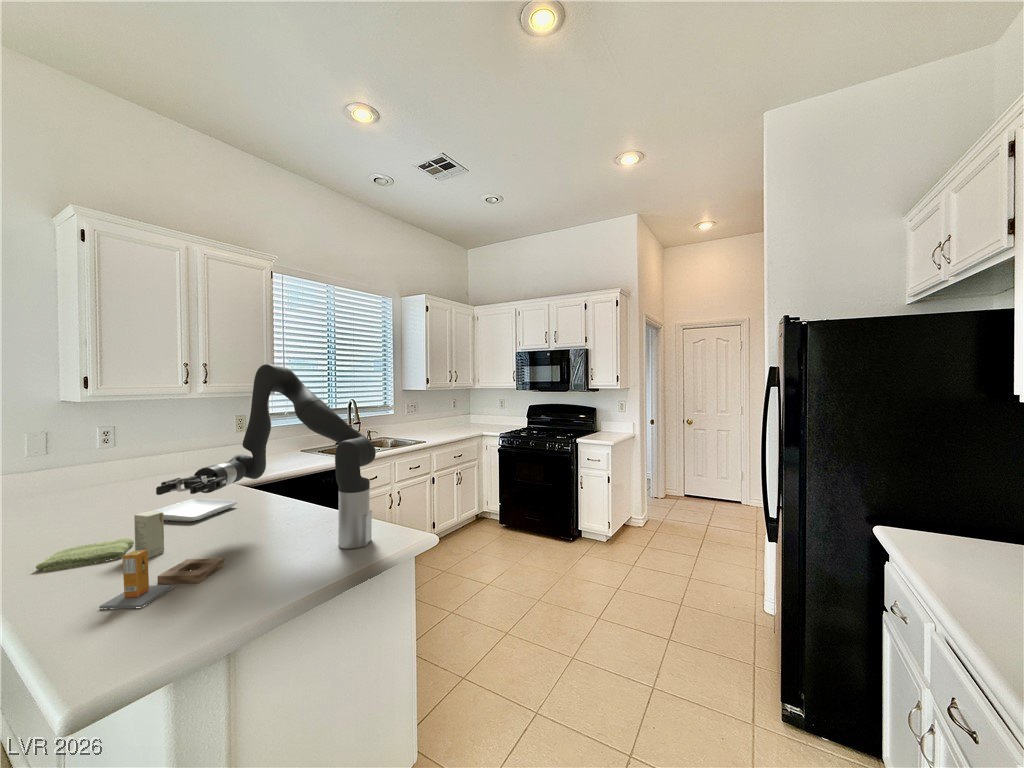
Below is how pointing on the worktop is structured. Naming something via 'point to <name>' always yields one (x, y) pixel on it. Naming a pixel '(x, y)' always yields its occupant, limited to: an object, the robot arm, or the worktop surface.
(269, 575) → the worktop surface
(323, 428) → the robot arm
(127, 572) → the supplement box
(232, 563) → the worktop surface
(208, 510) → the salad plate
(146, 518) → the skincare box
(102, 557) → the washcloth
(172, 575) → the walnut collar
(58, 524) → the worktop surface
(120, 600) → the grey rubber pad
